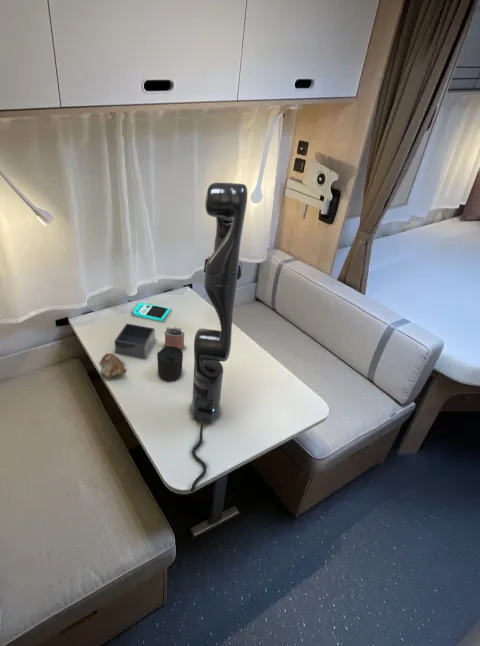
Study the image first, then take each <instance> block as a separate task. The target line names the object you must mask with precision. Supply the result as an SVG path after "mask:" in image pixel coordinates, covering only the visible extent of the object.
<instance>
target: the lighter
mask: <svg viewBox="0 0 480 646" xmlns="http://www.w3.org/2000/svg"><path fill="white" fill-rule="evenodd" d="M166 346H175V347H178V348H179V349H181V350H182V351H183V350H185V332H184V331H183V330H182V328H180V327H177V326H174V327H169V326H168V327H166V329H165V331H164V347H166Z"/></svg>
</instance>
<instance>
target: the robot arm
mask: <svg viewBox="0 0 480 646" xmlns="http://www.w3.org/2000/svg"><path fill="white" fill-rule="evenodd" d="M247 202H248V188H247V185H246V184H244V183H235V182H218V181H217V182H212V183H210V184H209V185H208V187H207V189H206V192H205V199H204V208H205V212H206V214H207V215H208V216H210V217H212V218H215V221H216V222H215V223H216V225H215V227H216V228H215V238H214V245H213V246H214V247H213V248H214V249H213V253H212V254H211V255H210V256H207V257H206V258H205V259H204V266H203V267H204V268H203V273H204V281H203V282H204V283H203V285H204V286H203V288H204V291H205V294H206V295H207V297H208V299H209V301H210V303H211V305H212V307H213V308H214V310H215V312H216V315H217V317H218V321H219V324H220V330H218V329H211V328H198V329H197V331H196V332H195V336H194V341H193V354H194V355H193V357H194V358H193V359H194V360H193V361H194V362H193V363H194V364H193V381H192V403H191V404H192V405H191V413H192V415H193V419H194V420H195V422H198V423H199V422H200V428H199V440H198V442H197V444H195V445H194V447H193V448H192V451H191V454H192V456H193V458H194V459H195V460H196V461H197V462H199V464H201V466H202V468H203V469H202V472H201V473H200V474H199V475H198V476H197V477H196V478H195V480H194V481H193V482H192V484H191V486H190V487H191V488H190V492H191V493H193V492H194V491H195V487H196V486H197V484H198V482H199V481H200V480H202V478H203V477H204V476H205V474H206V473H207V465H206V463H205V461H203V460H202V459H201V458H200V457H198V456H197V455H196V450H197V449H198V448H199V447H200V446H201V444H202V442H203V430H204V424H208V425H211V424H212V422H213V421H214V420H216V419H217V418H218V417H219V415H220V406H221V398H222V397H221V396H222V386H223V377H224V366H223V363H221V362H224V363H225V362H227V361H228V359H229V358H230V353H231V348H232V347H231V346H232V330H233V316H234V315H233V313H234V305H235V298H236V291H237V284H238V281H239V280H240V279H241V277H242V267H243V266H242V265H243V264H242V262H240V251H241V250H240V249H241V241H242V235H243V228H244V224H245V223H244V222H245V217H246V211H247Z"/></svg>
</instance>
